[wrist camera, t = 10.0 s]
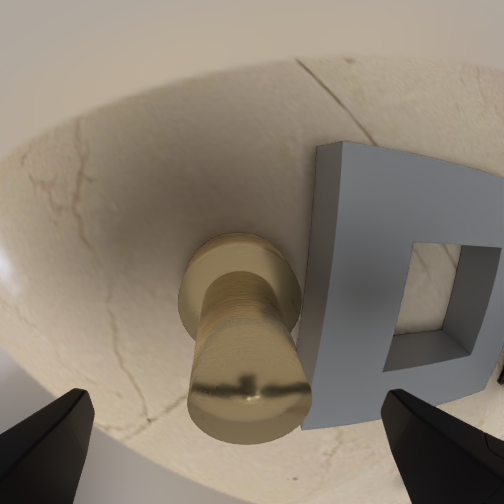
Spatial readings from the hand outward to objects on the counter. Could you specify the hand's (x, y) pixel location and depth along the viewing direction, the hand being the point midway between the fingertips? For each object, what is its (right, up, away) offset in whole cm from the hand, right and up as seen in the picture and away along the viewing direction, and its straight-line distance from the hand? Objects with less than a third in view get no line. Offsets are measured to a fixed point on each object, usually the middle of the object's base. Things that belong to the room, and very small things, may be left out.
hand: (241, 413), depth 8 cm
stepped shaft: (-1, +3, +10) cm, 10 cm away
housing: (+11, +2, +11) cm, 16 cm away
